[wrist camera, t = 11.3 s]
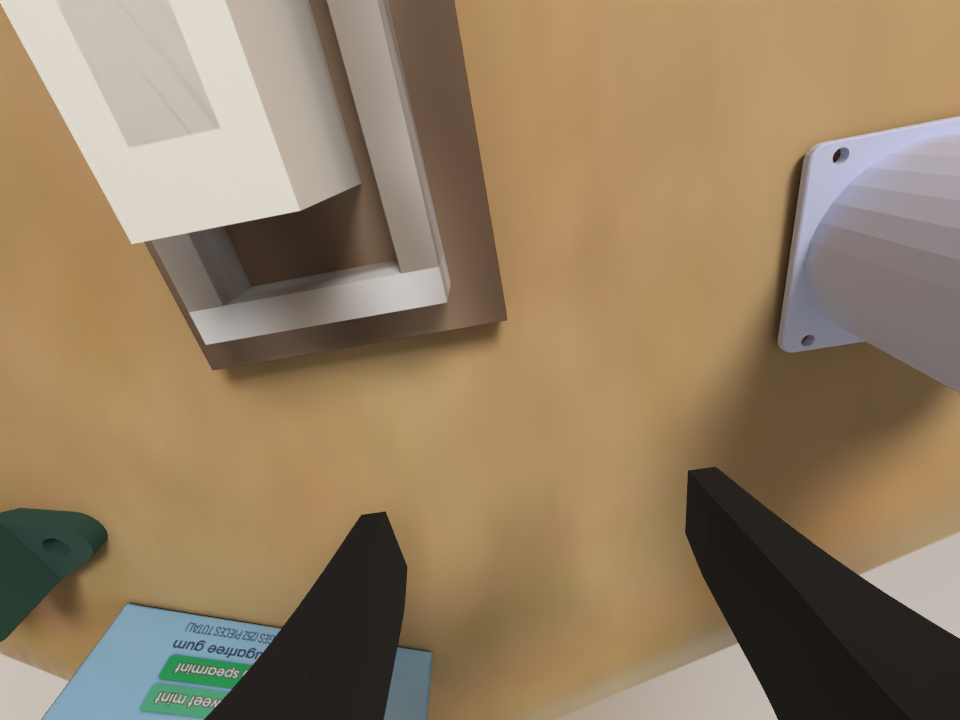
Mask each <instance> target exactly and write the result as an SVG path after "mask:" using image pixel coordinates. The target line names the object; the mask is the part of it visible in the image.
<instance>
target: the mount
mask: <svg viewBox="0 0 960 720" xmlns="http://www.w3.org/2000/svg"><path fill="white" fill-rule="evenodd" d="M107 537H108V535H107V531H106V529H105V528H104V526H103V525H102V524H101V523H100V522H98V521H97V520H95V519H94V518H92V517H90V516H88V515H85V514H82V513H78V512H68V511H54V510H40V509H26V508H19V509H14V510H10V511H6V512H1V513H0V642H1V641H3V640H4V639H6V638H7V637H8V636H9V635H10V634H11V633H12V632H13V631H14V630H15V628H16V627H17V626H18V625H19V624H20V623H21V622H22V621H23V620H24V619H25V618H26V617H27V616H28V615H29V613H30V612H31V611H32V610H33V609H34V608H35V607H36V606H37V605H38V604H39V603H40V602H41V601H42V600H43V598H44V597H45V596H46V595H47V594H48V593H49V592H50V591H51V590H52V589H53V588H54V587H55V586H56V585H57V583H58V582H59V581H60V580H61V579H62V578H64V577H65V576H66V575H68V574H69V573H71V572H72V571H73V570H75V569H76V568H78V567H79V566H80V565H82V564H83V563H85V562H86V561H87V560H89V559H90V558H91V557H92V556H93V555H94V554H95V553H96V551H97V550H98V549H99V548H100V547H101V546H102V545H103V544H104V543H105V542H106V540H107Z"/></svg>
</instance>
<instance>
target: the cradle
mask: <svg viewBox="0 0 960 720" xmlns="http://www.w3.org/2000/svg"><path fill="white" fill-rule="evenodd" d="M309 4H310V7H311V11H312V14H313V18H314V21H315V25H316V28H317V32H318V35H319V39H320V42H321V45H322V49H323V52H324V56H325V59H326V63H327V66H328V70H329V73H330V77H331V80H332V84H333V87H334V91H335V94H336V98H337V101H338V105H339V108H340V112H341V115H342V119H343V122H344V126H345V129H346V132H347V136H348V139H349V143H350V146H351V150H352V153H353V157H354V160H355V164H356V167H357V171H358V174H359V178H360V181H361V184H359V185H357V186H355V187H352V188H350V189H348V190H346V191H343V192H341V193H339V194H337V195H335V196H332V197H330V198H328V199H326V200H323V201H321V202H319V203H317V204H315V205H312V206H310V207H308V208H306V209H303V210H301V211H297V212H292V213H287V214H282V215H277V216H272V217H267V218H262V219H257V220H252V221H246V222H241V223H236V224H231V225H226V226H221V227H216V228H211V229H206V230H201V231H196V232H191V233H186V234H181V235H176V236H170V237H165V238H160V239H155V240H150V241H145V242H144V243H145V244H146V246H147V248H148V250H149V252H150V254H151V256H152V258H153V259H154V261H155V263H156V265H157V267H158V269H159V271H160V273H161V274H162V276H163V278H164V280H165V282H166V284H167V286H168V288H169V290H170V291H171V293H172V295H173V297H174V299H175V301H176V303H177V305H178V306H179V308H180V310H181V312H182V314H183V316H184V318H185V320H186V321H187V323H188V325H189V327H190V329H191V331H192V333H193V335H194V336H195V338H196V340H197V342H198V344H199V346H200V348H201V350H202V351H203V353H204V355H205V357H206V359H207V361H208V363H209V365H210V366H211V368H212V370H218V369H223V368H229V367H235V366H241V365H247V364H253V363H259V362H265V361H271V360H276V359H282V358H288V357H294V356H300V355H306V354H312V353H318V352H324V351H329V350H335V349H341V348H347V347H353V346H359V345H365V344H371V343H376V342H382V341H388V340H394V339H400V338H406V337H412V336H418V335H424V334H429V333H435V332H441V331H447V330H453V329H459V328H465V327H471V326H477V325H482V324H488V323H494V322H500V321H506V320H507V315H506V308H505V301H504V295H503V289H502V284H501V278H500V272H499V266H498V260H497V254H496V248H495V242H494V236H493V230H492V224H491V218H490V212H489V206H488V200H487V194H486V188H485V182H484V176H483V170H482V164H481V158H480V152H479V146H478V140H477V134H476V128H475V122H474V116H473V110H472V104H471V98H470V92H469V86H468V80H467V74H466V68H465V62H464V56H463V51H462V45H461V39H460V33H459V27H458V21H457V15H456V9H455V3H454V0H309Z"/></svg>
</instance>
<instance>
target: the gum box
mask: <svg viewBox="0 0 960 720" xmlns="http://www.w3.org/2000/svg"><path fill="white" fill-rule="evenodd" d="M281 629H282V628H276V627H270V626H264V625H258V624H251V623H244V622H238V621H232V620H225V619H220V618H214V617H208V616H201V615H195V614H189V613H183V612H177V611H170V610H164V609H158V608H152V607H146V606H140V605H135V604H129V603H127V604H126V605H125V607H124V608H123V609H122V611H121V612H120V613H119V615H118V616H117V617H116V619H115V620H114V622H113V623H112V624H111V626H110V627H109V628H108V630H107V631H106V632H105V634H104V635H103V636H102V638H101V639H100V640H99V642H98V643H97V644H96V646H95V647H94V649H93V650H92V651H91V653H90V654H89V655H88V657H87V658H86V659H85V661H84V662H83V663H82V665H81V666H80V667H79V669H78V670H77V671H76V673H75V674H74V676H73V677H72V678H71V680H70V681H69V682H68V684H67V685H66V687H65V688H64V689H63V691H62V692H61V693H60V695H59V696H58V697H57V699H56V700H55V702H54V703H53V704H52V705H51V707H50V708H49V710H48V711H47V712H46V714H45V715H44V716H43V718H42V719H41V720H204V719H205V718H206V717H207V716H208V715H209V714H210V713H211V711H212V710H213V709H214V708H215V707H216V706H217V705H218V704H219V703H220V702H221V701H222V700H223V698H224V697H225V696H226V695H227V694H228V693H229V692H230V691H231V689H232V688H233V687H234V686H235V685H236V684H237V683H238V681H239V680H240V679H241V678H242V677H243V676H244V674H245V673H246V672H247V671H248V670H249V669H250V667H251V666H252V665H253V664H254V663H255V661H256V660H257V659H258V658H259V656H260V655H261V654H262V653H263V652H264V650H265V649H266V648H267V647H268V645H269V644H270V643H271V642H272V640H273V639H274V638H275V636H276V635H277V634H278V632H279V631H280V630H281ZM431 665H432V652H428V651H420V650H414V649H408V648H402V647H397V653H396V658H395V663H394V668H393V674H392V679H391V684H390V690H389V695H388V700H387V705H386V711H385V716H384V720H427V717H428V705H429V693H430V680H431Z"/></svg>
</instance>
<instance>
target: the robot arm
mask: <svg viewBox="0 0 960 720" xmlns="http://www.w3.org/2000/svg"><path fill="white" fill-rule="evenodd" d="M838 149H840V151H841V154H840V157H839V159H838V160H837V161H836V162H833V155H834V153H835V152H836V151H837V150H838ZM807 335H809V336H808V338H807V339H806V340H805V341H803V342H801V341H802V339H803V338H804V337H805V336H807ZM859 342H867V343H869V344H871V345H873V346H874V347H876V348H878V349H880V350H882V351H884V352H885V353H887V354H889V355H891V356H893V357H894V358H896V359H898V360H900V361H902V362H904V363H905V364H907V365H909V366H911V367H913V368H914V369H916V370H918V371H920V372H922V373H924V374H925V375H927V376H929V377H931V378H933V379H934V380H936V381H938V382H940V383H942V384H944V385H945V386H947V387H949V388H951V389H953V390H955V391H956V392H958V393H960V116H956V117H950V118H945V119H940V120H935V121H930V122H924V123H919V124H914V125H909V126H904V127H899V128H893V129H888V130H883V131H878V132H873V133H867V134H862V135H857V136H852V137H847V138H841V139H836V140H831V141H826V142H821V143H818V144H816V145H814V146H813V147H811V148H810V149H809V150H808V152H807V153H806V155H805V157H804V161H803V167H802V174H801V181H800V188H799V195H798V202H797V209H796V216H795V223H794V230H793V237H792V244H791V251H790V258H789V265H788V272H787V279H786V286H785V293H784V300H783V307H782V314H781V321H780V328H779V335H778V346H779V347H780V348H781V349H782V350H784V351H786V352H788V353H794V352H801V351H807V350H814V349H820V348H827V347H833V346H839V345H846V344H852V343H859ZM685 533H686V536H687V538H688V541H689V543H690V546H691V548H692V551H693V553H694V556H695V558H696V561H697V563H698V566H699V568H700V570H701V573H702V575H703V577H704V579H705V581H706V583H707V585H708V587H709V589H710V591H711V593H712V594H713V596H714V598H715V600H716V602H717V604H718V606H719V608H720V609H721V611H722V613H723V615H724V617H725V619H726V621H727V622H728V624H729V626H730V628H731V630H732V632H733V633H734V635H735V637H736V639H737V641H738V643H739V645H740V646H741V648H742V650H743V652H744V654H745V656H746V657H747V659H748V661H749V663H750V665H751V667H752V669H753V670H754V672H755V674H756V676H757V678H758V680H759V681H760V683H761V685H762V687H763V689H764V691H765V693H766V695H767V697H768V699H769V701H770V703H771V705H772V707H773V709H774V712H775V714H776V716H777V718H778V720H960V639H959V638H958V637H956V636H954V635H953V634H951V633H949V632H947V631H946V630H944V629H942V628H941V627H939V626H937V625H936V624H934V623H932V622H931V621H929V620H927V619H926V618H924V617H923V616H921V615H920V614H918V613H916V612H915V611H913V610H911V609H910V608H908V607H907V606H905V605H903V604H902V603H900V602H898V601H897V600H895V599H894V598H892V597H890V596H889V595H887V594H886V593H884V592H883V591H881V590H880V589H878V588H877V587H875V586H874V585H872V584H871V583H869V582H868V581H866V580H865V579H863V578H862V577H860V576H859V575H857V574H856V573H855V572H853V571H852V570H850V569H849V568H847V567H846V566H844V565H843V564H842V563H840V562H839V561H837V560H836V559H834V558H833V557H832V556H830V555H829V554H827V553H826V552H825V551H823V550H822V549H821V548H819V547H818V546H816V545H815V544H814V543H812V542H811V541H810V540H808V539H807V538H806V537H804V536H803V535H802V534H800V533H799V532H798V531H796V530H795V529H794V528H792V527H791V526H790V525H788V524H787V523H786V522H784V521H783V520H782V519H781V518H779V517H778V516H777V515H775V514H774V513H773V512H772V511H770V510H769V509H768V508H766V507H765V506H764V505H763V504H761V503H760V502H759V501H758V500H756V499H755V498H754V497H753V496H751V495H750V494H749V493H748V492H746V491H745V490H744V489H743V488H741V487H740V486H739V485H738V484H737V483H735V482H734V481H733V480H732V479H730V478H729V477H728V476H727V475H725V474H724V473H723V472H722V471H720V470H719V469H718V468H716V467H711V468H704V469H696V470H689V471H688V484H687V506H686V529H685ZM406 579H407V565H406V563H405V560H404V557H403V555H402V552H401V550H400V547H399V545H398V542H397V540H396V537H395V534H394V532H393V529H392V527H391V524H390V522H389V519H388V517H387V514H386V512H379V513H372V514H365V515H361V516H360V518H359V519H358V521H357V522H356V523H355V525H354V526H353V528H352V529H351V531H350V532H349V534H348V535H347V537H346V538H345V540H344V541H343V543H342V544H341V546H340V547H339V549H338V550H337V552H336V553H335V555H334V556H333V558H332V559H331V561H330V562H329V564H328V565H327V567H326V568H325V570H324V571H323V572H322V574H321V575H320V577H319V578H318V579H317V581H316V582H315V584H314V585H313V587H312V588H311V589H310V591H309V592H308V594H307V595H306V597H305V598H304V599H303V601H302V602H301V603H300V605H299V606H298V608H297V609H296V610H295V611H294V613H293V614H292V615H291V617H290V618H289V619H288V621H287V622H286V623H285V625H284V626H283V627H282V629H281V630H280V631H279V632H278V634H277V635H276V636H275V638H274V639H273V640H272V642H271V643H270V644H269V645H268V647H267V648H266V649H265V650H264V652H263V653H262V654H261V655H260V656H259V658H258V659H257V660H256V661H255V663H254V664H253V665H252V666H251V667H250V669H249V670H248V671H247V672H246V673H245V674H244V676H243V677H242V678H241V679H240V680H239V681H238V683H237V684H236V685H235V686H234V687H233V688H232V689H231V691H230V692H229V693H228V694H227V695H226V696H225V697H224V698H223V700H222V701H221V702H220V703H219V704H218V705H217V706H216V707H215V708H214V709H213V710H212V711H211V713H210V714H209V715H208V716H207V717H206V718H205V719H204V720H384V716H385V711H386V705H387V700H388V695H389V690H390V684H391V679H392V674H393V668H394V663H395V658H396V653H397V647H398V642H399V636H400V631H401V626H402V620H403V614H404V606H405V594H406Z"/></svg>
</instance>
